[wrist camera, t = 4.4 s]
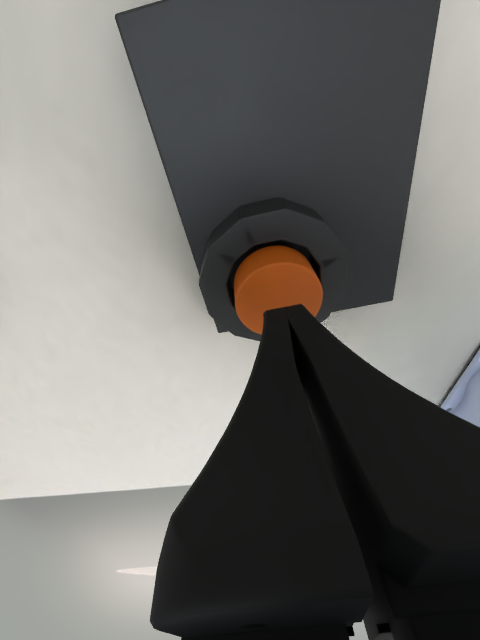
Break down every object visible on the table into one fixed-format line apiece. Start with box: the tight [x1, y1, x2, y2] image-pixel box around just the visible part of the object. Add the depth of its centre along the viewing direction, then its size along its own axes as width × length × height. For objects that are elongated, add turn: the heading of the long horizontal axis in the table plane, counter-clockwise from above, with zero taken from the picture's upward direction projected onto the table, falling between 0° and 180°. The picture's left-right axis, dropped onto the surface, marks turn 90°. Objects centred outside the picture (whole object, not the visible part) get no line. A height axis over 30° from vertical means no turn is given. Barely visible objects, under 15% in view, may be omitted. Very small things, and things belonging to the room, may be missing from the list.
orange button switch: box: [115, 0, 441, 341], centre depth 12 cm, size 13×10×3 cm
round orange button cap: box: [234, 246, 323, 335], centre depth 12 cm, size 4×4×2 cm
